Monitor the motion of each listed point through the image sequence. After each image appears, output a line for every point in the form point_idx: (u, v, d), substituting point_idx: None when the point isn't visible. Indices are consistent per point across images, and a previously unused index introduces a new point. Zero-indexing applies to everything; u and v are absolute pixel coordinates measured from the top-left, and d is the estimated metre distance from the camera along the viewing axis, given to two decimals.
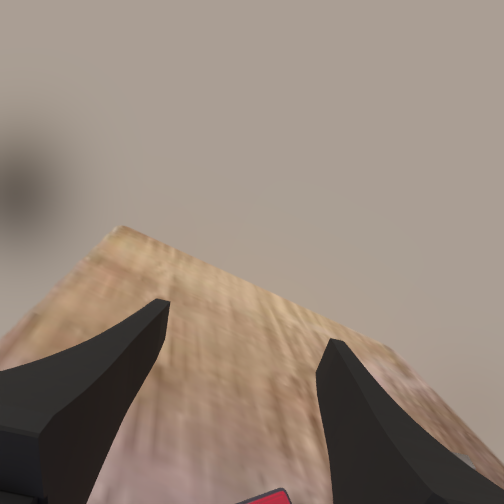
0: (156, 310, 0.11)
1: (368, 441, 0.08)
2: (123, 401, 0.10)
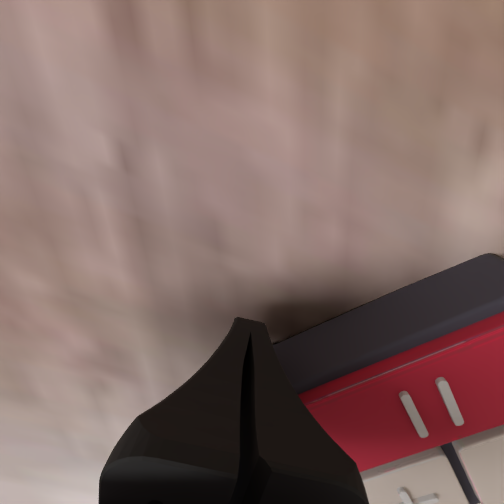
0: (245, 331, 0.11)
1: (248, 415, 0.08)
2: None
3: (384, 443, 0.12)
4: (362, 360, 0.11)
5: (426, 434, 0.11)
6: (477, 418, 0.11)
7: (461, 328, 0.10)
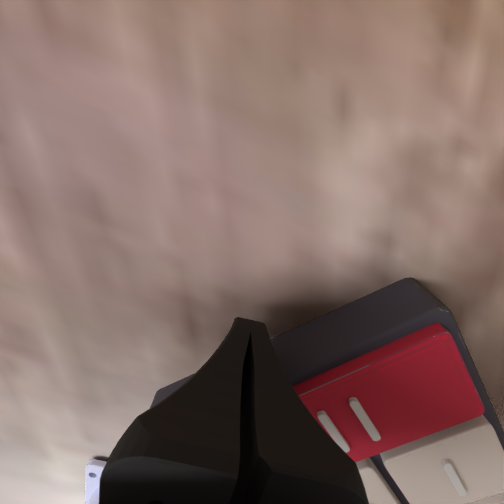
0: (245, 330, 0.11)
1: (248, 415, 0.08)
2: None
3: None
4: None
5: (348, 449, 0.12)
6: (394, 433, 0.12)
7: (370, 352, 0.11)
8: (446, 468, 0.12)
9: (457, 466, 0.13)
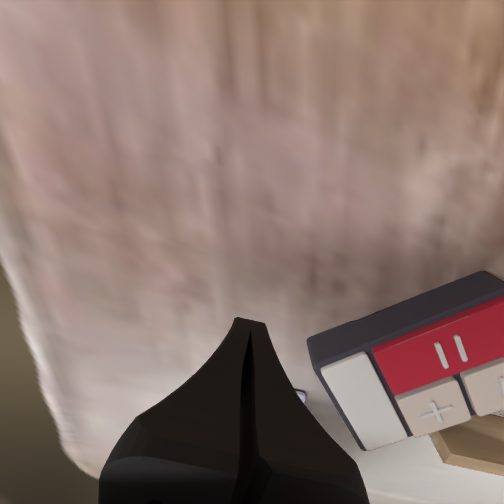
0: (245, 330, 0.11)
1: (248, 415, 0.08)
2: None
3: (424, 372, 0.22)
4: (415, 326, 0.21)
5: (447, 366, 0.21)
6: (474, 358, 0.21)
7: (467, 309, 0.20)
8: (501, 381, 0.22)
9: None
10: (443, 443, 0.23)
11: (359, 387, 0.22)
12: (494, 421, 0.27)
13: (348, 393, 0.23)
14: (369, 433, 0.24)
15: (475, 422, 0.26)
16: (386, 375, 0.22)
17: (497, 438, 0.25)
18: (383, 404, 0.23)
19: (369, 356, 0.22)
